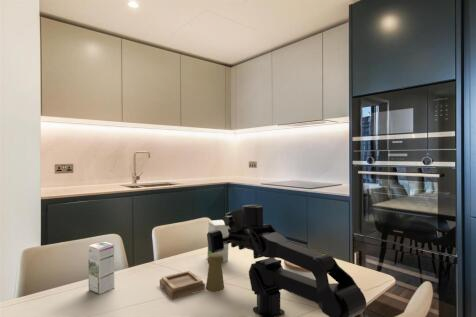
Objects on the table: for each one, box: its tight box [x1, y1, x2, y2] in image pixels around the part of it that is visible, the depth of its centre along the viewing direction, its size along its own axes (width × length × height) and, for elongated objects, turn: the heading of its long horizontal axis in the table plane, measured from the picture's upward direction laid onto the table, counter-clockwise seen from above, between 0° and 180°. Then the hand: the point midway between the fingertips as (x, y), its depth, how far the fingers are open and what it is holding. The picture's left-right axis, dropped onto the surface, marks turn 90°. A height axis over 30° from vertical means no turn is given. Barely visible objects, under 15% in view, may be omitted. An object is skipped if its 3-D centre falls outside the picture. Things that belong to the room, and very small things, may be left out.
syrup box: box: [87, 241, 115, 295], centre depth 94 cm, size 6×6×14 cm
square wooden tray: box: [159, 270, 206, 300], centre depth 96 cm, size 11×11×3 cm
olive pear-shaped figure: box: [205, 253, 225, 293], centre depth 96 cm, size 6×6×11 cm
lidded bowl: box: [283, 260, 316, 280], centre depth 96 cm, size 13×13×11 cm
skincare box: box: [207, 219, 229, 263], centre depth 122 cm, size 8×7×16 cm
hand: (220, 232), depth 102 cm, fingers open, 9 cm apart
